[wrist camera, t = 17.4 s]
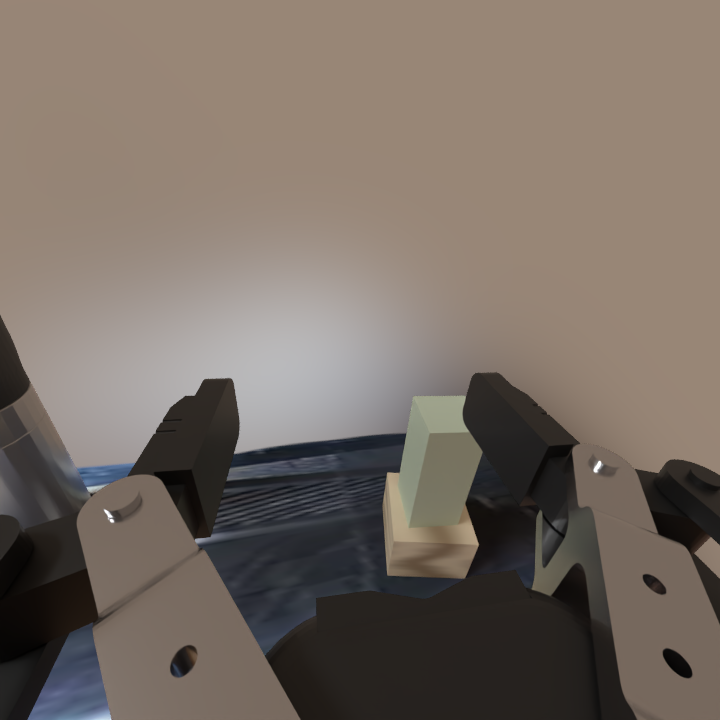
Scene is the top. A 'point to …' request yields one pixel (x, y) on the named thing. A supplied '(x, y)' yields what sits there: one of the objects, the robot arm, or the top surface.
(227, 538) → the top surface
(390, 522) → the birch base block
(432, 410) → the sage block
